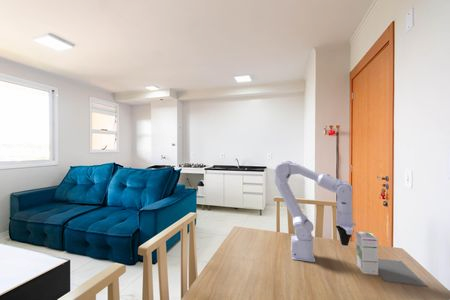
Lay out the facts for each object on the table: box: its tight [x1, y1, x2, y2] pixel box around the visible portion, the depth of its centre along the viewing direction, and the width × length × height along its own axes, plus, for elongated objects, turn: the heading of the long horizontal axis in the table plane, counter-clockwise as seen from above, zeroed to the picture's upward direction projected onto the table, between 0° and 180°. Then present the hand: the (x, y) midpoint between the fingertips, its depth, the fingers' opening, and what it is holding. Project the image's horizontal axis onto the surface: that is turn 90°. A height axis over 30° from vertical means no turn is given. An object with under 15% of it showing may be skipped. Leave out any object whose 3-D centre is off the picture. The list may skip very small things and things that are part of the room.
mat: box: [378, 258, 428, 287], centre depth 82 cm, size 13×16×1 cm
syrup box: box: [355, 231, 379, 276], centre depth 83 cm, size 6×6×14 cm
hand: (344, 244), depth 85 cm, fingers closed
